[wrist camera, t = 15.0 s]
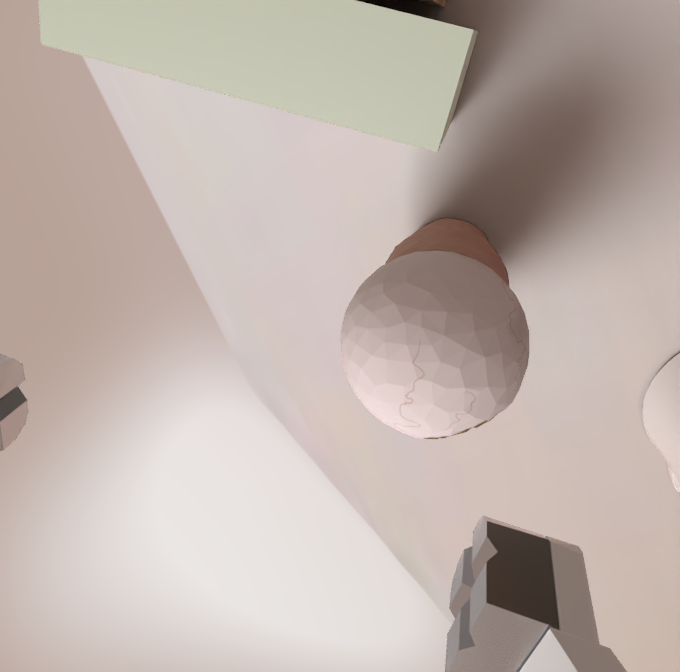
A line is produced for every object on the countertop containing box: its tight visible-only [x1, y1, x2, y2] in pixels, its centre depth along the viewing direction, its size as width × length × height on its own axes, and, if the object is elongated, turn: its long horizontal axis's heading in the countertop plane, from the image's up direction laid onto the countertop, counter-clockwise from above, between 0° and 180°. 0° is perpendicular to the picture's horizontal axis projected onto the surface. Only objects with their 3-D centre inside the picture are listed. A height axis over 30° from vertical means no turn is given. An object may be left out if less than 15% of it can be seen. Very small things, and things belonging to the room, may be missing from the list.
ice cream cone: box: [341, 218, 529, 439], centre depth 37 cm, size 11×11×20 cm
